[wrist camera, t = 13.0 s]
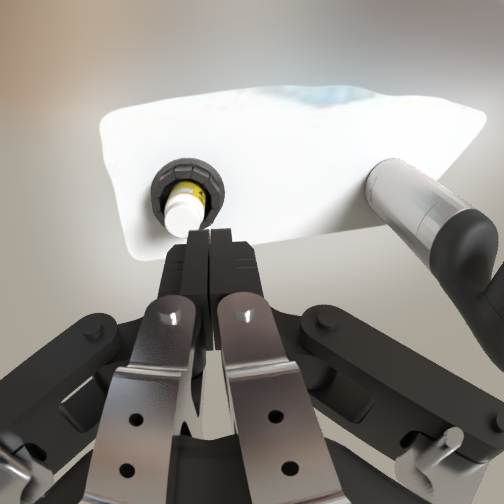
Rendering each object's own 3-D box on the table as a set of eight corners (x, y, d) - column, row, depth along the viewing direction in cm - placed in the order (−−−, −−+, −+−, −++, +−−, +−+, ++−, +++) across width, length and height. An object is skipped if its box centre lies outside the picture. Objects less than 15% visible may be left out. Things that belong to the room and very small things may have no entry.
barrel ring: (223, 156, 38) (224, 163, 35) (225, 224, 43) (226, 236, 40) (147, 160, 37) (142, 168, 34) (156, 227, 42) (152, 239, 39)
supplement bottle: (206, 210, 41) (203, 241, 34) (172, 210, 40) (162, 242, 33) (206, 177, 38) (203, 202, 31) (170, 177, 38) (159, 203, 31)
